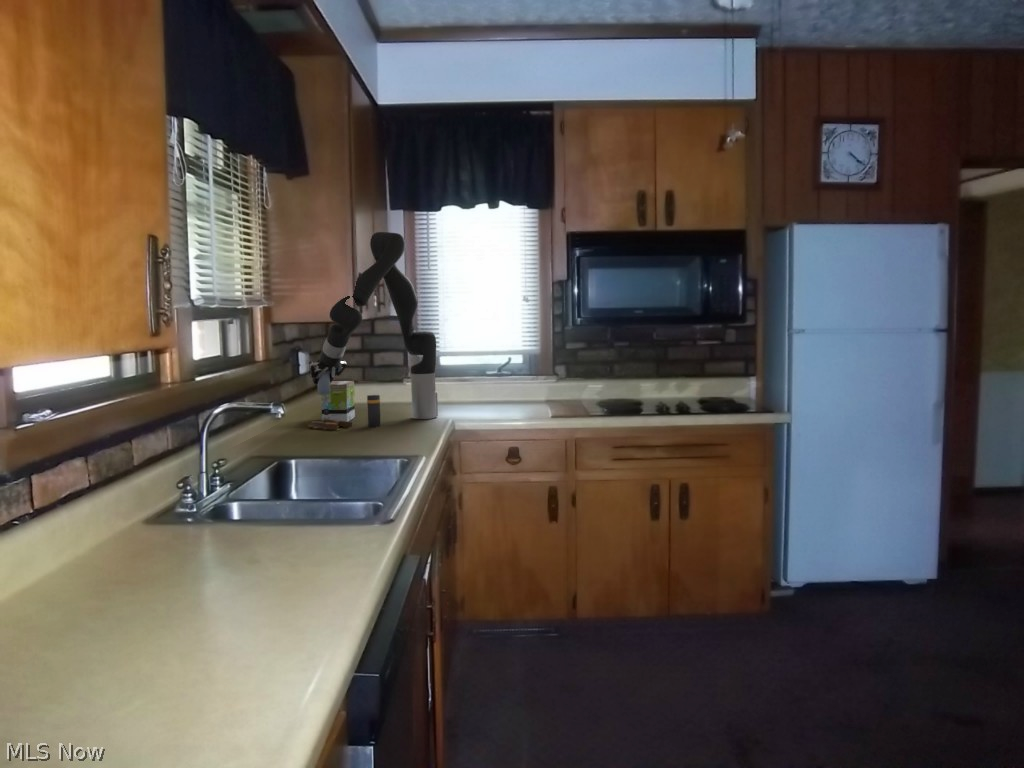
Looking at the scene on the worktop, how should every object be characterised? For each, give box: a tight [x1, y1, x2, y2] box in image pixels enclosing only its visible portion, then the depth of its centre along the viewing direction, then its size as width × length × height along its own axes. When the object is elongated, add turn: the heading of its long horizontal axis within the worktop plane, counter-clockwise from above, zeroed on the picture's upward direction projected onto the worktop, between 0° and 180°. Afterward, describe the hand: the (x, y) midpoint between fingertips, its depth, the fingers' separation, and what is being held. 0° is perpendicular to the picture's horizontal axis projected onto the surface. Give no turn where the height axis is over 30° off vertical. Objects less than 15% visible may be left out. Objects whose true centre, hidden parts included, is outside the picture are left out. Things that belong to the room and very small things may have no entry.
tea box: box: [320, 380, 356, 422], centre depth 309 cm, size 15×10×15 cm
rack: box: [308, 419, 353, 431], centre depth 291 cm, size 8×14×2 cm, turn 55°
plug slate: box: [316, 371, 330, 396], centre depth 291 cm, size 4×4×11 cm
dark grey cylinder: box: [366, 394, 382, 428], centre depth 293 cm, size 5×5×11 cm
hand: (321, 382), depth 293 cm, fingers closed on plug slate, 4 cm apart
